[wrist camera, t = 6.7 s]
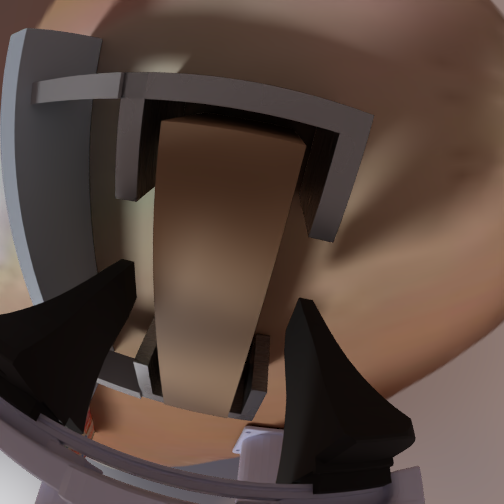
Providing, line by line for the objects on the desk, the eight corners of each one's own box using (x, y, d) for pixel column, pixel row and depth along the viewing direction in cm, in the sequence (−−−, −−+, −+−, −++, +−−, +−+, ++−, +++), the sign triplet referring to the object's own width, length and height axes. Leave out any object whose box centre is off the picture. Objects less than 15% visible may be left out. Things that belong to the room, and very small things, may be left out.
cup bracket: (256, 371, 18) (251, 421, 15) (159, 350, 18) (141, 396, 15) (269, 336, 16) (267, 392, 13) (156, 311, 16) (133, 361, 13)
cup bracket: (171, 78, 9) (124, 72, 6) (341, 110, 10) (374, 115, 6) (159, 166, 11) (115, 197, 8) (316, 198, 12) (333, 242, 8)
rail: (236, 352, 18) (227, 418, 13) (183, 341, 18) (164, 404, 13) (292, 128, 10) (306, 145, 6) (206, 112, 10) (161, 120, 6)
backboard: (160, 366, 19) (141, 420, 15) (103, 347, 19) (78, 396, 15) (181, 34, 8) (122, 1, 4) (86, 41, 8) (11, 34, 4)
